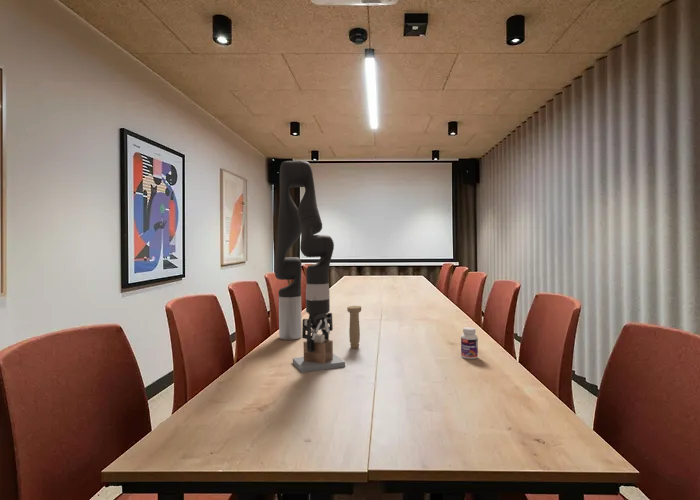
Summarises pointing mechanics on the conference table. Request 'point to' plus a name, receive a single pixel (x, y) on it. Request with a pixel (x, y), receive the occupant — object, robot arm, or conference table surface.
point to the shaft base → (312, 366)
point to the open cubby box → (319, 352)
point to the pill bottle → (469, 343)
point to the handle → (354, 325)
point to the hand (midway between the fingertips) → (318, 348)
